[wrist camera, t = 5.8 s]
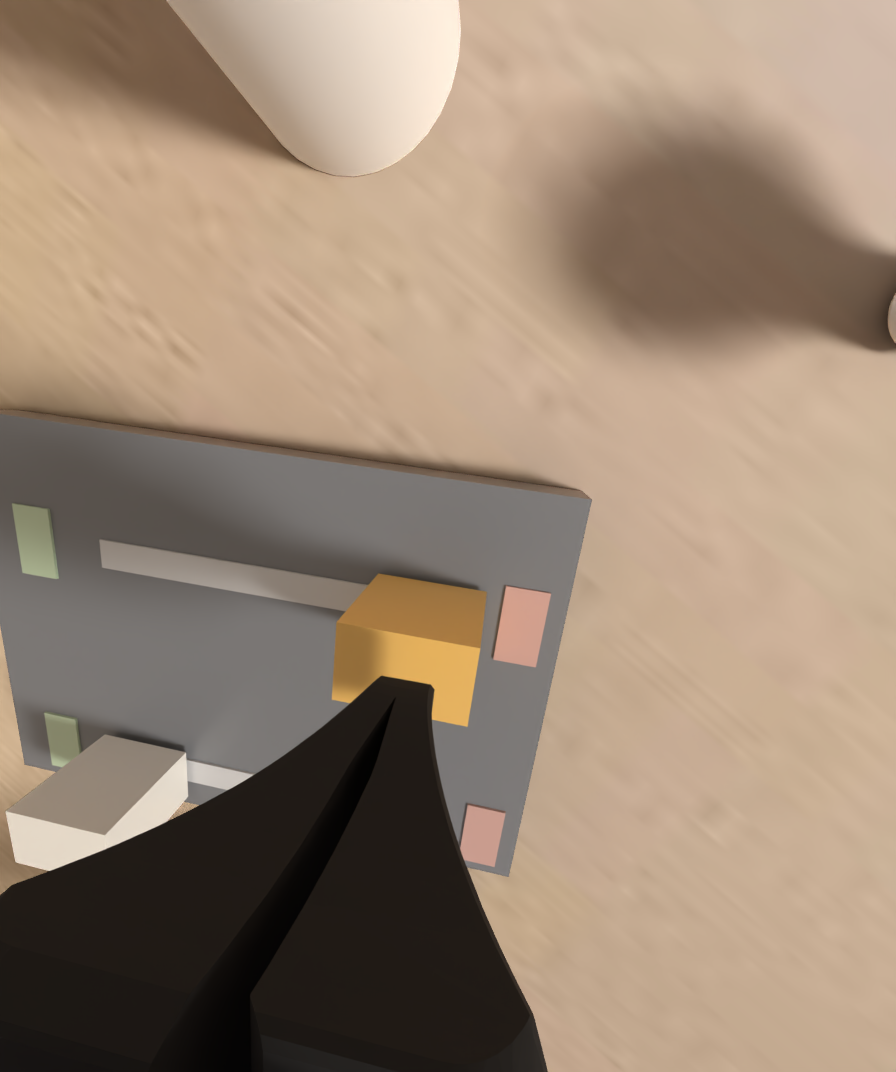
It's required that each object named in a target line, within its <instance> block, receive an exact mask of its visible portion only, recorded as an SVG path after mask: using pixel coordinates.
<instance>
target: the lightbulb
mask: <svg viewBox="0 0 896 1072" xmlns="http://www.w3.org/2000/svg"><path fill="white" fill-rule="evenodd" d="M888 329H889V332H890V335H891V337H892V339H893V341H894V342H895V343H896V293H895V295H894V297H893V299H892V301H891V304H890V307H889V311H888Z"/></svg>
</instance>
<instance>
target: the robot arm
mask: <svg viewBox="0 0 896 1072" xmlns="http://www.w3.org/2000/svg"><path fill="white" fill-rule="evenodd" d="M434 691H435V689H434V688H433V687H432V685H431V684H426V683H420V682H415V681H409V680H404V679H398V678H393V677H387V676H380V677H379V678H377V679H376V680H375V681H374V682H373V683H372V684H371V685H370V686H369V687H367V688H366V689H365V690H364V691H363V692H362V693H361V694H360V695H359V696H358V697H357V698H355V699H354V700H353V701H352V702H351V703H350V704H349V705H347V706H346V707H345V708H344V709H343V710H342V711H340V712H339V713H338V714H337V715H336V716H334V717H333V718H332V719H331V720H330V721H328V722H327V723H326V724H325V725H324V726H322V727H321V728H320V729H319V730H317V731H316V732H315V733H313V734H312V735H311V736H309V737H308V738H307V739H305V740H304V741H303V742H301V743H300V744H299V745H297V746H296V747H295V748H293V749H292V750H291V751H289V752H288V753H286V754H285V755H283V756H282V757H280V758H279V759H278V760H276V761H275V762H273V763H272V764H270V765H269V766H267V767H265V768H264V769H262V770H261V771H259V772H258V773H256V774H254V775H253V776H251V777H250V778H248V779H246V780H245V781H243V782H241V783H240V784H238V785H236V786H234V787H233V788H231V789H229V790H227V791H225V792H223V793H221V794H220V795H218V796H216V797H214V798H212V799H210V800H209V801H207V802H205V803H203V804H201V805H199V806H197V807H196V808H194V809H192V810H190V811H188V812H186V813H184V814H182V815H180V816H178V817H176V818H174V819H172V820H169V821H167V822H165V823H163V824H161V825H159V826H157V827H155V828H153V829H150V830H148V831H146V832H144V833H141V834H139V835H137V836H135V837H132V838H130V839H128V840H126V841H123V842H121V843H119V844H116V845H114V846H112V847H109V848H107V849H105V850H102V851H100V852H97V853H95V854H92V855H90V856H87V857H84V858H82V859H79V860H77V861H74V862H72V863H69V864H66V865H64V866H61V867H59V868H56V869H54V870H51V871H48V872H46V873H43V874H41V875H38V876H36V877H33V878H30V879H27V880H25V881H22V882H19V883H16V884H14V885H12V886H10V887H9V888H8V889H7V890H6V891H5V892H3V893H2V894H1V895H0V1072H548V1071H547V1067H546V1063H545V1059H544V1055H543V1051H542V1047H541V1043H540V1039H539V1035H538V1031H537V1027H536V1023H535V1019H534V1016H533V1013H532V1011H531V1009H530V1007H529V1005H528V1003H527V1001H526V999H525V997H524V995H523V993H522V991H521V989H520V987H519V985H518V983H517V981H516V979H515V977H514V975H513V973H512V971H511V969H510V967H509V965H508V963H507V961H506V958H505V956H504V954H503V952H502V950H501V948H500V946H499V944H498V941H497V939H496V937H495V935H494V932H493V930H492V928H491V926H490V923H489V921H488V919H487V917H486V914H485V912H484V910H483V908H482V905H481V902H480V900H479V897H478V895H477V892H476V890H475V887H474V884H473V882H472V879H471V877H470V874H469V871H468V869H467V866H466V864H465V861H464V859H463V856H462V853H461V850H460V847H459V844H458V841H457V838H456V835H455V832H454V829H453V825H452V822H451V818H450V815H449V811H448V808H447V804H446V800H445V797H444V792H443V788H442V784H441V779H440V774H439V770H438V764H437V759H436V753H435V745H434V738H433V729H432V707H433V699H434Z"/></svg>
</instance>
